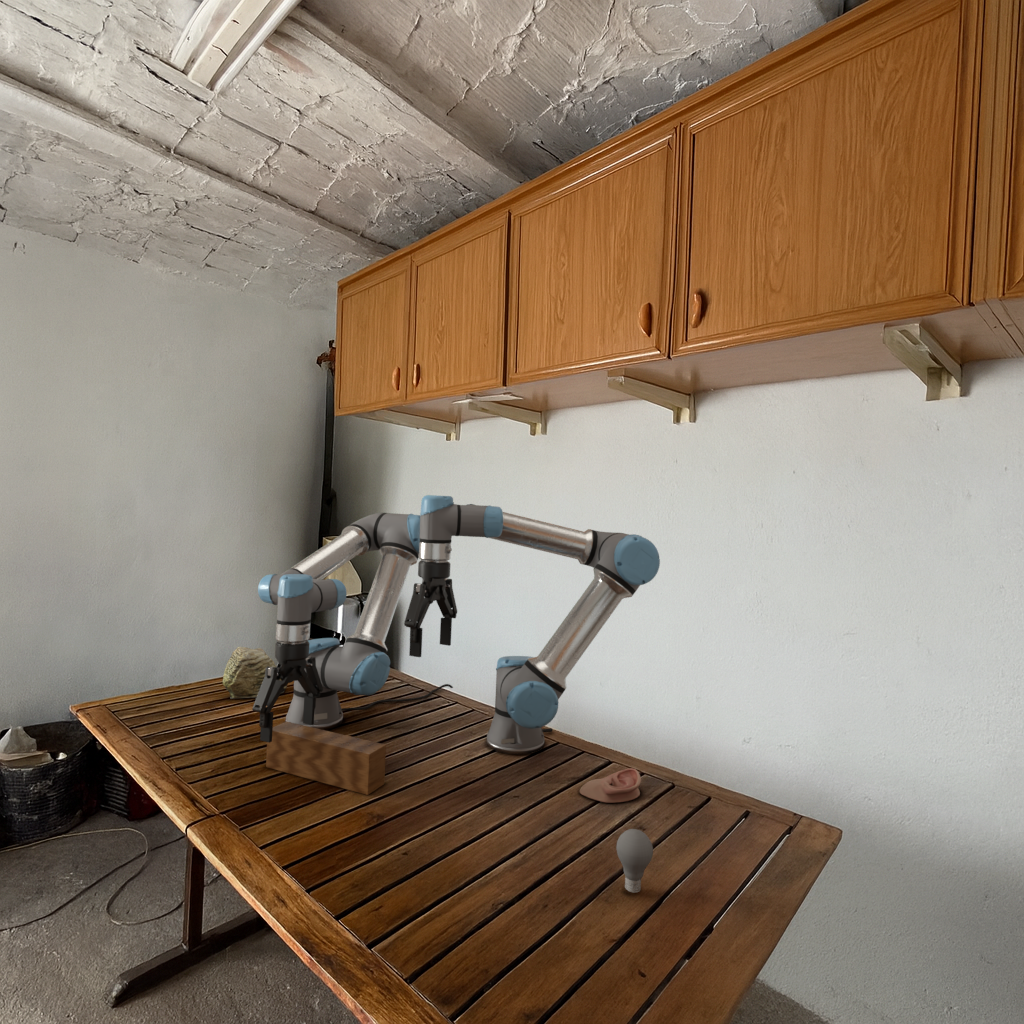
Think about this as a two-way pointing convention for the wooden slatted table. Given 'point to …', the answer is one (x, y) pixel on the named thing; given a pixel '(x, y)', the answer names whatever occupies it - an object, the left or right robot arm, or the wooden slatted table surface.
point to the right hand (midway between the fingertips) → (430, 650)
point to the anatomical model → (614, 787)
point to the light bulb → (634, 857)
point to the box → (327, 757)
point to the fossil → (246, 672)
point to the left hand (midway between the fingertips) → (288, 732)
